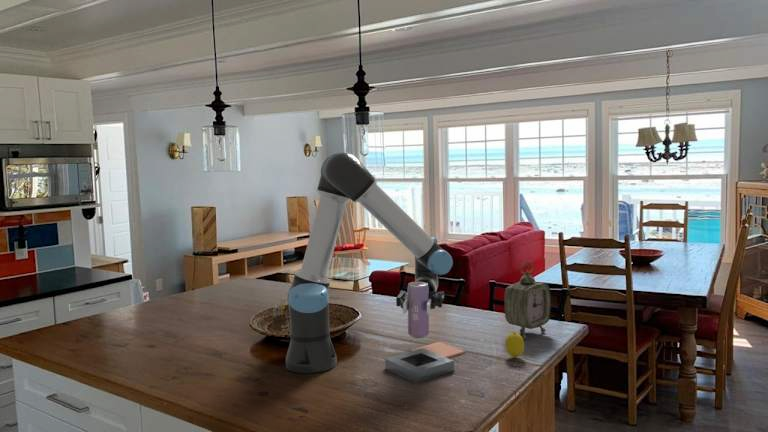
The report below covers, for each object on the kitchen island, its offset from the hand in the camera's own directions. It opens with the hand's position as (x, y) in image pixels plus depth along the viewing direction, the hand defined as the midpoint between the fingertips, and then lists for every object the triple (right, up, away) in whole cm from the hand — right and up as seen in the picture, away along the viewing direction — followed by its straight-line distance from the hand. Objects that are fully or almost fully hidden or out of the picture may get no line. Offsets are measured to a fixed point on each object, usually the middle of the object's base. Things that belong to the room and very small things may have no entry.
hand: (416, 309), depth 152 cm
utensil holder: (-45, -17, +44) cm, 65 cm away
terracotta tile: (+8, -17, +21) cm, 28 cm away
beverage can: (+1, -9, +6) cm, 11 cm away
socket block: (+1, -19, +7) cm, 20 cm away
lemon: (+30, -17, +14) cm, 38 cm away
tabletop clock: (+40, -15, +37) cm, 56 cm away
